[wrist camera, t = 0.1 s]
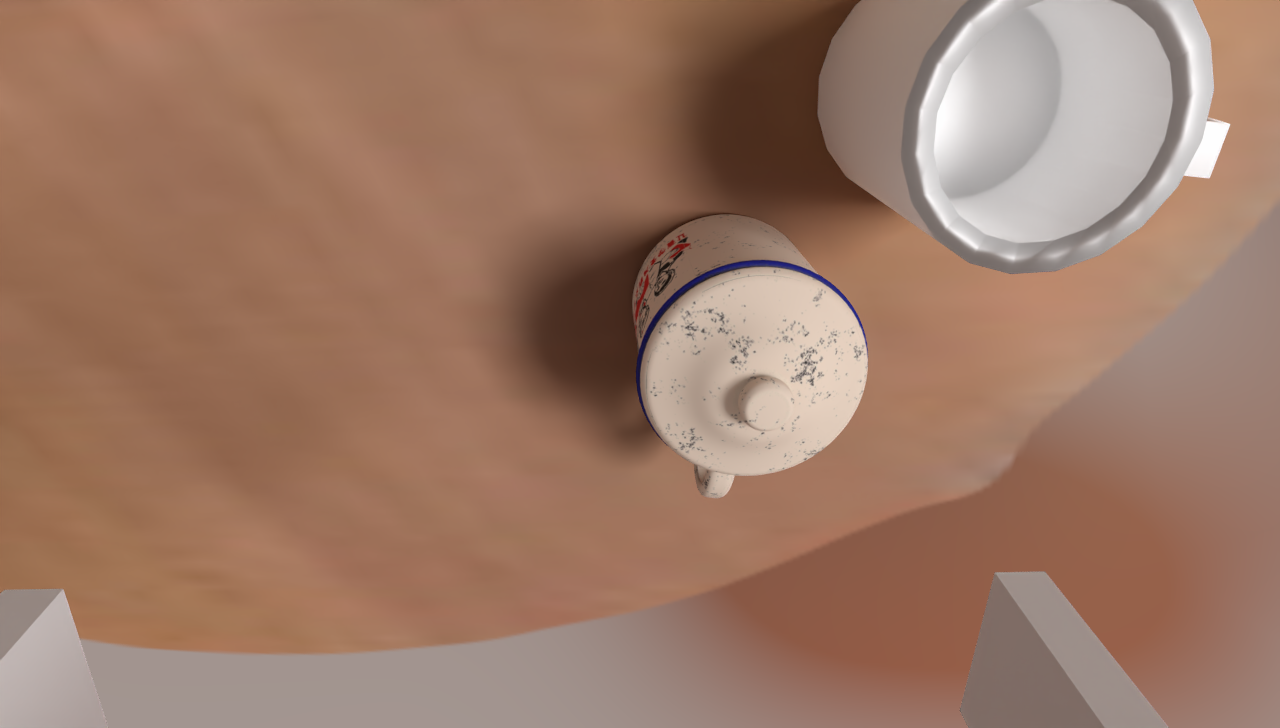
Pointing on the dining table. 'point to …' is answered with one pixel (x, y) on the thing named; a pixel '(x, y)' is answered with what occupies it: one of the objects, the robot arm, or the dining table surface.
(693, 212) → the dining table surface
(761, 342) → the teacup with lid
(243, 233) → the dining table surface
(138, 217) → the dining table surface
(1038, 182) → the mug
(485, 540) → the dining table surface
